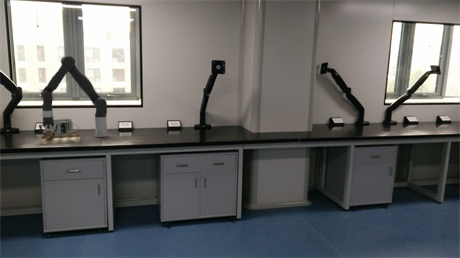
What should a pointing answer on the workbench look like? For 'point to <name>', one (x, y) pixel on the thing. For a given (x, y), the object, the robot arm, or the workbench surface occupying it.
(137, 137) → the workbench surface
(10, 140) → the workbench surface
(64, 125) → the geiger counter
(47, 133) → the brown boxy piece
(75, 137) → the maple board
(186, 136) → the workbench surface
